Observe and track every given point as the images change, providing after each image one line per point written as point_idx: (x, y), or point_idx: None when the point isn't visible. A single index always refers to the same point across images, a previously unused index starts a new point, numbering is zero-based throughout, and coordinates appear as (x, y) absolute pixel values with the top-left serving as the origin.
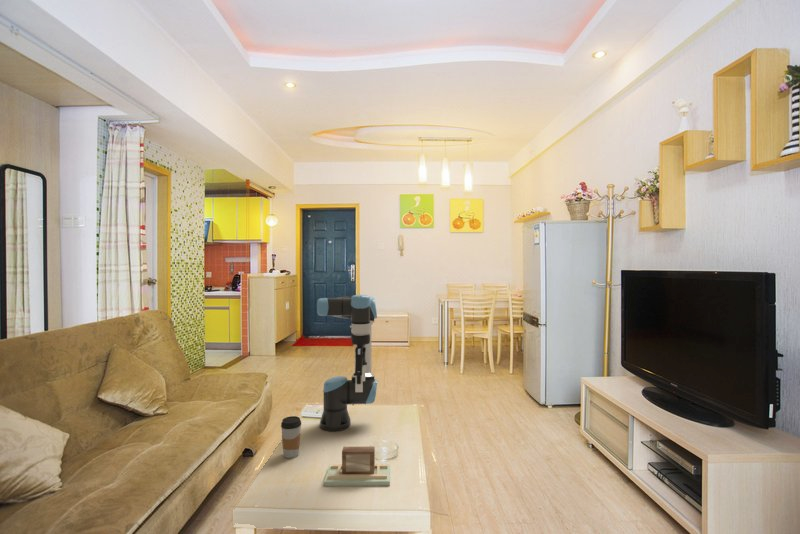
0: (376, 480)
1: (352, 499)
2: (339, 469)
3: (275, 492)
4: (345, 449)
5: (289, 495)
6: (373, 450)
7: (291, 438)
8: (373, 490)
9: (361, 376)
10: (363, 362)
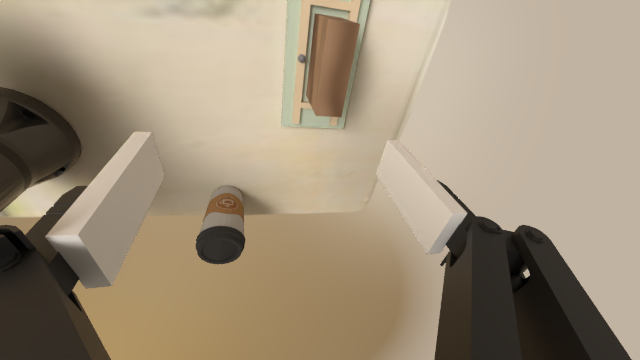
0: (364, 12)
1: (394, 70)
2: None
3: (343, 188)
4: (332, 109)
5: (354, 169)
6: (353, 25)
7: (242, 219)
8: (379, 21)
9: (457, 212)
10: (66, 296)
